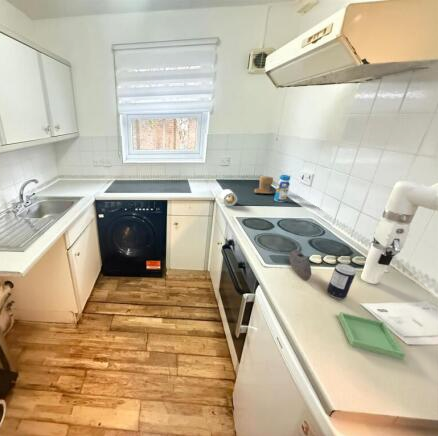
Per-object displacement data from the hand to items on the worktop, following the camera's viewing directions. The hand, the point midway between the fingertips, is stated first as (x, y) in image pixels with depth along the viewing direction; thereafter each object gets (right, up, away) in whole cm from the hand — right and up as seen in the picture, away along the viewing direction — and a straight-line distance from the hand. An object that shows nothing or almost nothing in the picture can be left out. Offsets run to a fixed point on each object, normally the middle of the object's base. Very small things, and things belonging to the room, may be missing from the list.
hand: (378, 258), depth 91 cm
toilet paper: (-28, +27, +90) cm, 98 cm away
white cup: (0, -9, +4) cm, 10 cm away
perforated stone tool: (-25, -7, +9) cm, 27 cm away
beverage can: (-19, -13, -4) cm, 24 cm away
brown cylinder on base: (+11, +38, +116) cm, 122 cm away
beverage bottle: (+16, +29, +96) cm, 102 cm away
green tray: (-23, -20, -20) cm, 37 cm away
